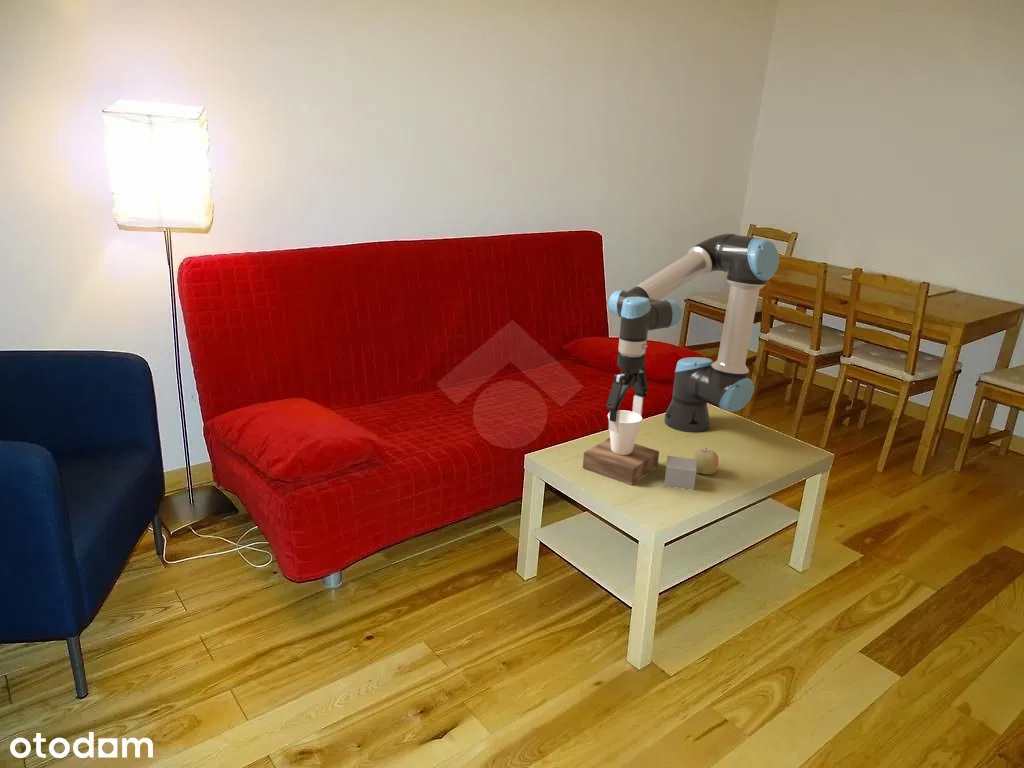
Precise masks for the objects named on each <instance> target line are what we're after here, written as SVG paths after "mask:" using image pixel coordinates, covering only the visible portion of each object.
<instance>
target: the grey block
mask: <svg viewBox="0 0 1024 768" xmlns="http://www.w3.org/2000/svg"><path fill="white" fill-rule="evenodd" d="M664 473H665V475H664V487H667V486H669V488H674V487H677V488H678V489H682V488H684V490H689V489H691V490H690V491H694V490H695V484H696V478H697V477H696V475H697V472H696V459H692V458H689V457H682V456H674V455H669V454H668V455H667V458H666V465H665V472H664ZM677 488H676V489H677Z"/></svg>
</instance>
